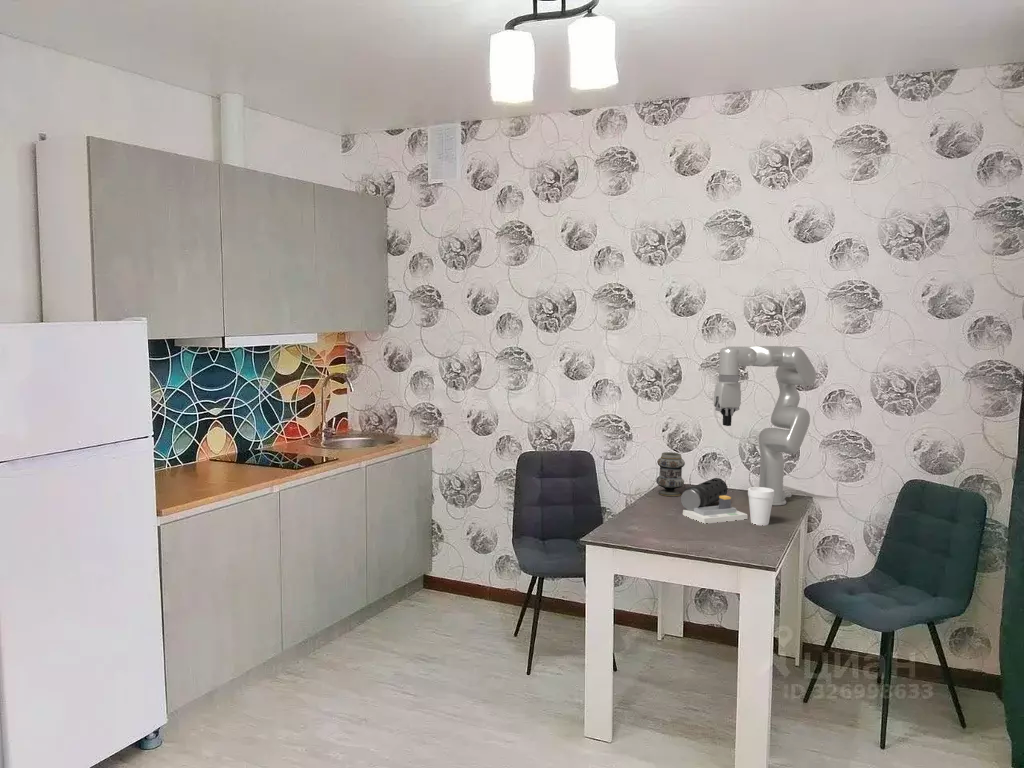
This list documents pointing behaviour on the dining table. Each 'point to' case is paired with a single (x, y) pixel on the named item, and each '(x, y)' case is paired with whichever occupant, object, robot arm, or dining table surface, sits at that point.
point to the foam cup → (760, 504)
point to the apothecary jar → (670, 473)
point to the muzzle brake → (703, 494)
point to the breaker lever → (724, 502)
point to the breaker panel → (714, 514)
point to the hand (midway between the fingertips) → (726, 425)
